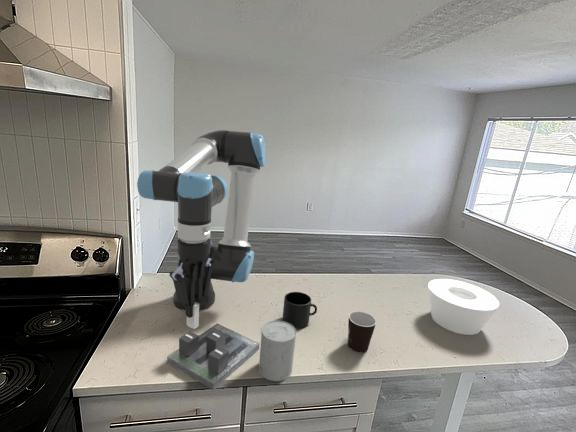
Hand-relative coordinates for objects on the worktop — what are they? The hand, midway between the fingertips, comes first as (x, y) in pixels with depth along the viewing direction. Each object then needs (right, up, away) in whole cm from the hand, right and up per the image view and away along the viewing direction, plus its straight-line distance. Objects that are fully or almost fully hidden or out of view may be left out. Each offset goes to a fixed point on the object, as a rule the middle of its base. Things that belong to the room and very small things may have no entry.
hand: (192, 325), depth 84 cm
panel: (+3, -13, +12) cm, 17 cm away
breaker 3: (+6, -12, +4) cm, 14 cm away
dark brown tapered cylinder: (+48, -14, +23) cm, 55 cm away
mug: (+28, -10, +33) cm, 44 cm away
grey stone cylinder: (+21, -15, +9) cm, 27 cm away
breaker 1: (-4, -10, +9) cm, 14 cm away
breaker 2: (+3, -10, +11) cm, 16 cm away
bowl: (+89, -13, +42) cm, 99 cm away
